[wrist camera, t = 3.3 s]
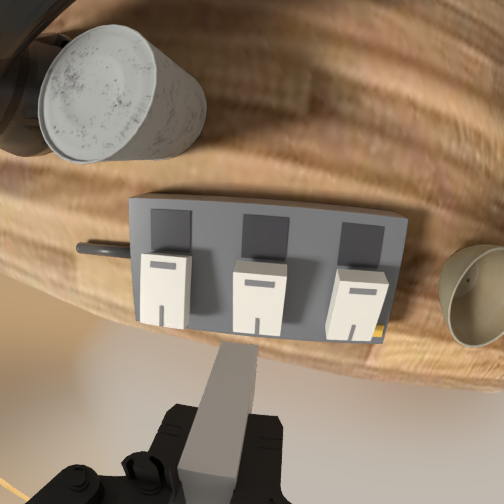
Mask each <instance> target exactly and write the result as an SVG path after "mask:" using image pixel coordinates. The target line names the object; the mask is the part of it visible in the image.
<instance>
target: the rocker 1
mask: <svg viewBox="0 0 504 504" xmlns="http://www.w3.org/2000/svg"><path fill="white" fill-rule="evenodd" d="M191 270H192V256H186V255H175V254H164V253H153V252H148V253H142V254H141V275H140V323H145V324H151V325H157V326H162V327H163V326H164V327H170V328H177V329H184V328H185V327H186V326H187V325H188V324H189V316H190V290H191Z"/></svg>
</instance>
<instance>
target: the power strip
mask: <svg viewBox="0 0 504 504" xmlns="http://www.w3.org/2000/svg"><path fill="white" fill-rule="evenodd" d="M407 225H408V218H406V217H404V216H402V215H400V214H398V213H396V212H394V211H386V210H378V209H369V208H360V207H351V206H341V205H331V204H321V203H310V202H299V201H287V200H274V199H260V198H246V197H229V196H211V195H190V194H163V193H145V194H141V195H138V196H134V197H130V198H129V230H130V247H127V246H116V245H105V244H93V243H82V242H80V243H78V244H77V245H76V250H77V252H78V253H82V254H91V255H101V256H110V257H119V258H129V259H131V270H132V284H133V296H134V306H135V316H136V321H140V275H141V254H142V253H148V252H153V253H164V254H175V255H186V256H192V270H191V290H190V316H189V324H188V325H187V326H186V327H185V328H187V329H194V330H202V331H210V332H218V333H226V334H235V335H245V336H255V337H265V338H277V339H289V340H303V341H319V342H339V343H366V344H383V340H384V336H385V333H386V329H387V325H388V321H389V317H390V313H391V309H392V304H393V300H394V296H395V291H396V287H397V282H398V277H399V272H400V267H401V261H402V256H403V250H404V244H405V238H406V232H407ZM237 260H240V261H252V262H263V263H275V264H287V280H286V289H285V298H284V307H283V316H282V324H281V332H280V336H271V335H260V334H258V335H255V334H250V333H240V332H233V271H234V267H235V264H236V261H237ZM337 269H350V270H363V271H376V272H384V274H385V276H386V278H387V281H388V283H389V286H388V290H387V293H386V296H385V299H384V303H383V306H382V309H381V312H380V315H379V318H378V321H377V324H376V327H375V330H374V333H373V336H372V338H371V341H347V340H328V339H326V329H325V324H326V320H327V315H328V311H329V306H330V301H331V297H332V292H333V287H334V282H335V277H336V272H337Z"/></svg>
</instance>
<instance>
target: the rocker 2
mask: <svg viewBox="0 0 504 504" xmlns="http://www.w3.org/2000/svg"><path fill="white" fill-rule="evenodd" d="M286 280H287V264H275V263H263V262H252V261H240V260H237V261H236V264H235V267H234V271H233V332H240V333H250V334H255V335H258V334H260V335H271V336H280V332H281V324H282V316H283V307H284V298H285V289H286Z"/></svg>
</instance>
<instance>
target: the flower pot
mask: <svg viewBox="0 0 504 504" xmlns="http://www.w3.org/2000/svg"><path fill="white" fill-rule="evenodd" d="M467 279H469V280H467ZM439 299H440V305H441V309H442V313H443V316H444V319H445V322H446V324H447V327H448V329H449V331H450V333H451V334H452V336H453V338H454V339H455V340H456V341H457V342H458V343H459V344H461V345H463V346H466V347H471V348H474V347H481V346H485V345H487V344H490V343H492V342H493V341H495V340H496V339H498V338H499V337H500V336H502V335H503V334H504V246H499V245H492V244H481V245H474V246H470V247H466V248H464V249H461V250H459V251H457V252H456V253H454V254H453V255H452V256H451V257H449V258H448V260H447V261H446V262H445V264H444V265H443V268H442V270H441V274H440V279H439Z"/></svg>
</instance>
